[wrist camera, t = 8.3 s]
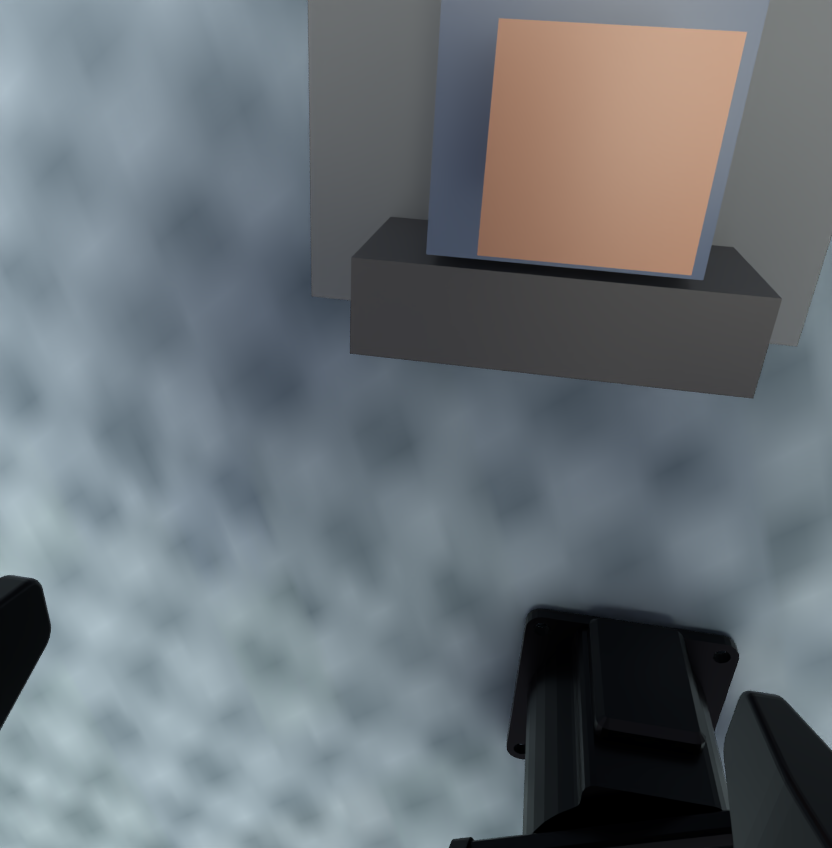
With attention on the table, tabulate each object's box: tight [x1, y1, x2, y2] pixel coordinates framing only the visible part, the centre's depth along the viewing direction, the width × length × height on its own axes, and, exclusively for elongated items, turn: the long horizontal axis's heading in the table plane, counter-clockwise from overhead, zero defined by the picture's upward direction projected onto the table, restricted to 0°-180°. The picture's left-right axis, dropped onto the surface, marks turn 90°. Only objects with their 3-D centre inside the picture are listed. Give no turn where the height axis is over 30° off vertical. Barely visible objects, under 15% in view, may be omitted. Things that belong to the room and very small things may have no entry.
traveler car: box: [426, 0, 770, 280], centre depth 12 cm, size 5×5×8 cm
